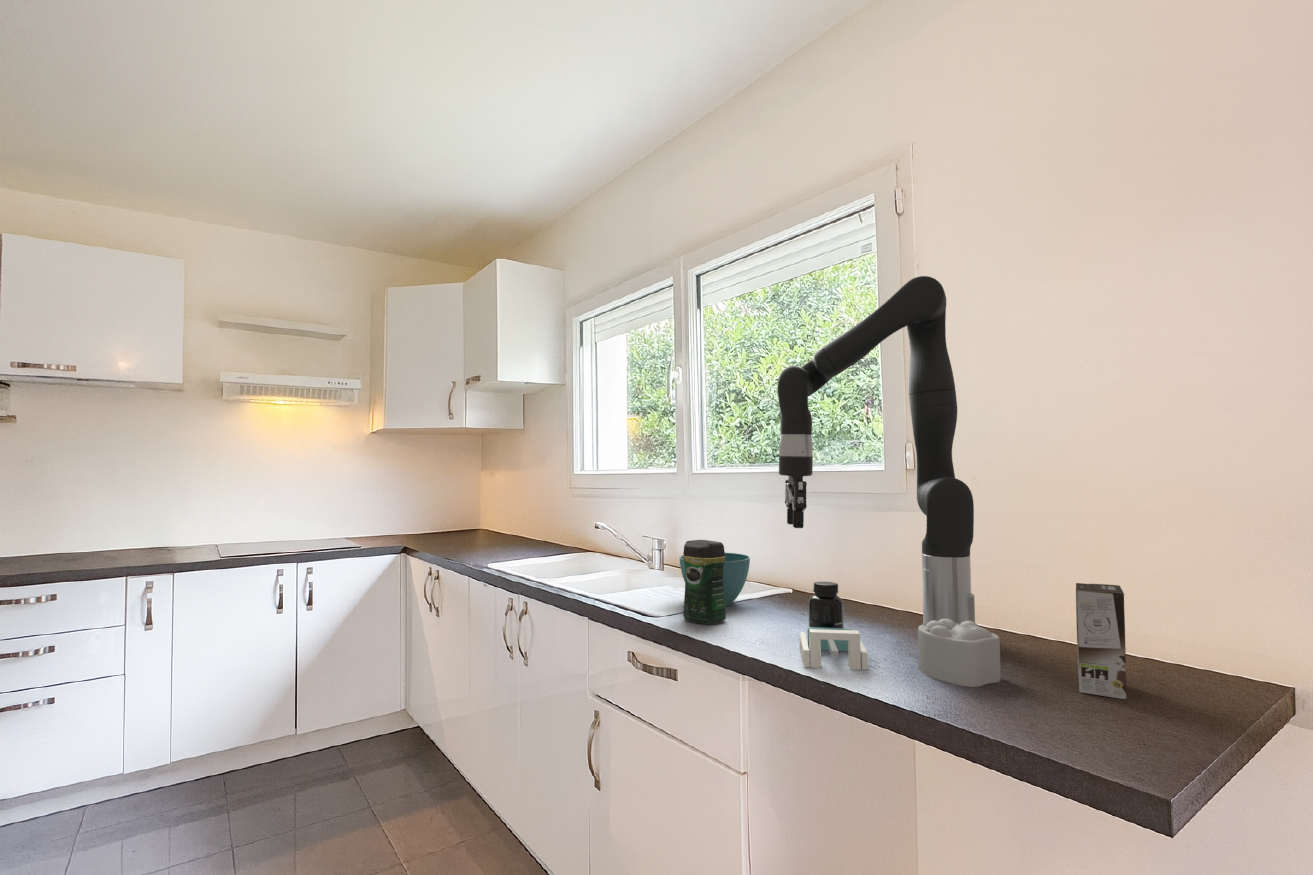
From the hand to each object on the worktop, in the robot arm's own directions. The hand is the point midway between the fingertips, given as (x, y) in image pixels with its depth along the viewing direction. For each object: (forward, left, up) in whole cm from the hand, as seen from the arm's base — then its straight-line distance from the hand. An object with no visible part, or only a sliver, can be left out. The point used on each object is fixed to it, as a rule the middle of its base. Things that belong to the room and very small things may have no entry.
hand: (794, 526), depth 153 cm
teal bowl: (+20, -19, -22) cm, 36 cm away
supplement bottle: (-5, +16, -22) cm, 28 cm away
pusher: (-5, +27, -22) cm, 35 cm away
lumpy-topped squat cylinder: (-25, +33, -22) cm, 47 cm away
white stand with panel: (-5, +27, -22) cm, 35 cm away
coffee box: (-46, +38, -22) cm, 64 cm away
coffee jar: (+21, 0, -22) cm, 30 cm away
